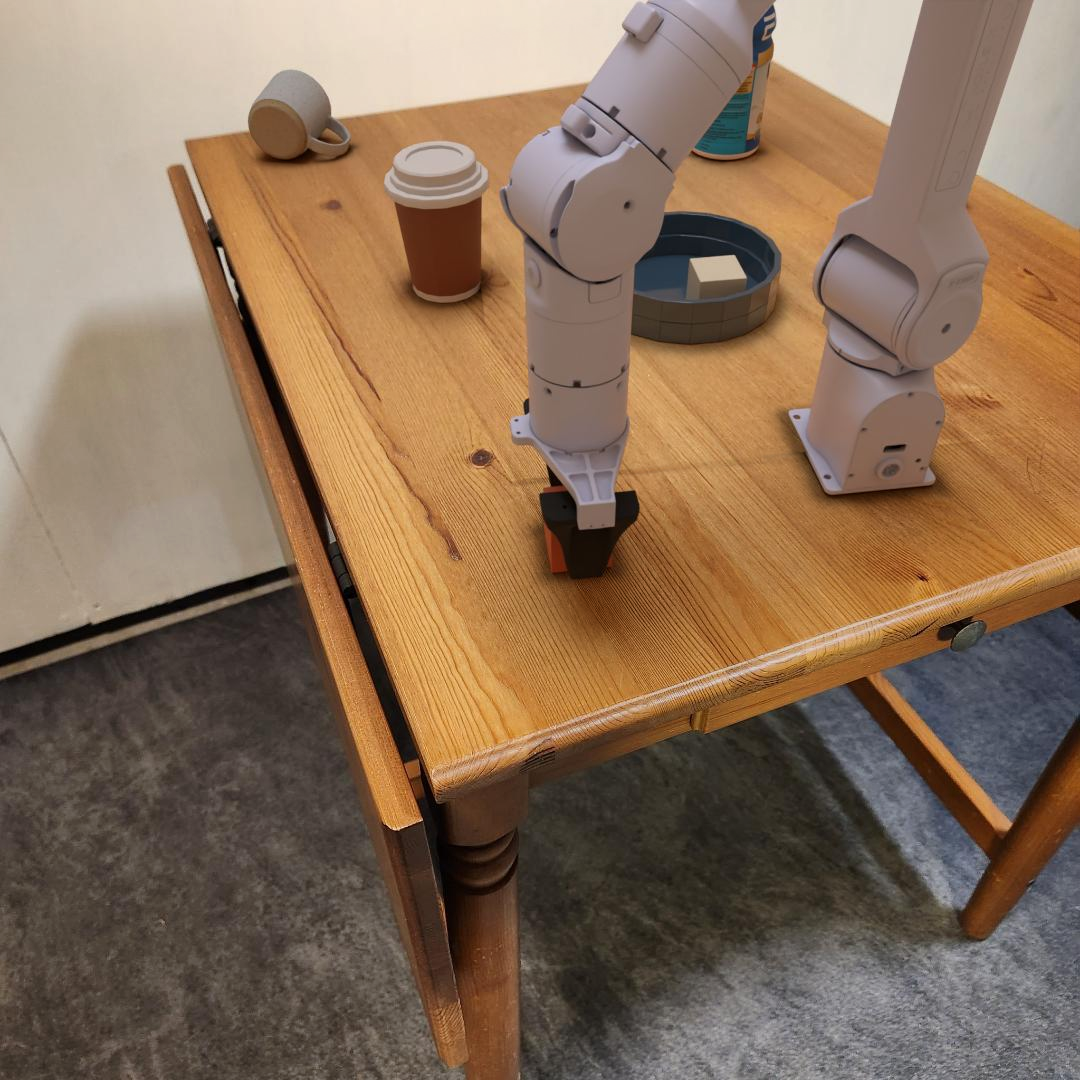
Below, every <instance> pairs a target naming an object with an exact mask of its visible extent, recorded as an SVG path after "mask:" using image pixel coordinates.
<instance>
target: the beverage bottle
mask: <svg viewBox="0 0 1080 1080" xmlns="http://www.w3.org/2000/svg"><path fill="white" fill-rule="evenodd" d="M776 27H777V12H776V8H775V5H774V4H773V5H772V6H771V7H770V8H769V9H768V11H767V12H766V13H765V14H764V15H763V16H762V18H761V19H760V20H759V21H758V22H757V23H756V25H755V26H754V28H753V39H752V42H753V64H752V70H751V73H750V74H749V76H748V77H747V78H746V79H745V81H744V82H743V83H742V85H741V86H740V87H739V89H738V90H737V91H736V93H735V94H734V95H733V97H732V98H731V99H730V101H729V102H728V103H727V105H726V106H725V107H724V109H723V110H722V111H721V113H720V114H719V115H718V116H717V118H716V119H715V120H714V122H713V123H712V124H711V126H710V127H709V128H708V130H707V131H706V132H705V134H704V135H703V136H702V138H701V139H700V140H699V141H698V143H697V144H696V145H695V147H694V148H693V149H692V151H691V152H694V153H695V154H697V155H699V156H701V157H703V158H707V159H712V160H719V161H729V160H738V159H743V158H746V157H749V156H751V155H752V154H754V153H755V152H756V151H757V150H758V148H759V146H760V143H761V128H762V122H763V115H764V109H765V102H766V95H767V88H768V82H769V75H770V67H771V63H772V61H773V58H774V52H775V44H774V39H773V36H772V35H773V32H774V30H776Z"/></svg>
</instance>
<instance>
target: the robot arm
mask: <svg viewBox="0 0 1080 1080" xmlns="http://www.w3.org/2000/svg"><path fill="white" fill-rule="evenodd" d="M776 1H777V0H647V1H645V2H642V1H639V0H638V1H636V3H634V5H633V6H632V8H631V9H630V10H629V12H628V13H627V15H626V16H625V18H624V20H623V21H622V23H621V28H622V29H623V30H624V31H625V32H624V33H623V35H622V36H621V37H620V39H619V40H618V42H617V43H616V45H615V46H614V47H613V49H612V51H611V52H610V54H609V55H608V56H607V58H606V59H605V60H604V62H603V63H602V65H601V66H600V68H599V69H598V70H597V72H596V73H595V75H594V76H593V77H592V79H591V80H590V82H589V83H588V85H587V86H586V88H585V89H584V90H583V92H582V93H581V95H580V97H578V98H577V100H576V102H575V103H574V104H573V103H571V104H569V106H568V107H567V108H566V110H565V112H564V113H563V114H562V115H561V117H560V119H559V125H555V126H552V127H549V128H547V129H546V131H544V132H542V133H538V134H536V135H535V136H533V138H532V139H530V140H529V141H528V142H527V143H526V144H525V145H524V146H523V147H522V149H521V150H520V151H519V153H518V154H517V156H516V158H515V159H514V162H513V164H512V167H511V169H510V173H509V176H508V179H509V182H508V184H507V185H504V186H502V187H501V188H499V192H498V193H499V194H498V195H499V200H500V205H501V208H502V211H503V212H504V214H505V216H506V218H507V219H508V220H509V222H510V223H511V224H512V225H513V226H514V227H515V228H516V229H517V230H518V231H519V232H520V234H521V236H522V237H521V238H522V240H523V241H522V243H523V246H522V247H523V266H524V267H523V270H524V273H523V274H524V306H525V331H526V332H525V333H526V335H525V336H526V359H527V382H528V385H527V386H528V398H526V399H525V400H524V401H523V403H522V404H523V405H522V407H523V413H524V414H523V415H517V416H513V417H512V418H511V419H510V420H509V428H510V429H509V430H510V431H509V432H510V436H511V442H512V443H513V444H514V445H516V446H520V447H522V446H529V447H532V448H533V449H534V450H535V451H536V452H537V454H538V456H540V457H541V459H542V460H543V461H544V463H545V466H546V467H545V468H546V471H547V476H548V480H549V484H550V487H555V486H565V487H566V489H567V490H568V491H558V492H547V493H543V492H539V494H538V499H539V505H540V510H541V516H542V520H543V523H544V522H545V524H546V526H547V528H548V529H549V530H550V531H551V532H552V533H553V534H554V535H555V536H556V538H557V539H558V541H559V543H560V545H561V548H562V552H563V556H564V561H565V565H566V568H567V571H566V572H567V574H568V577H569V578H570V579H571V580H572V581H574V580H575V581H576V580H585V579H595V578H601V577H603V576H604V574H605V572H606V570H607V568H608V567H607V565H608V562H609V559H610V557H611V554H612V555H613V552H614V549H615V547H616V545H617V543H618V541H619V539H620V538H621V537H622V535H623V534H624V533H625V532H626V531H627V530H628V529H629V528H630V527H631V526H632V525H633V524H635V523H636V522H637V520H638V518H639V514H640V511H641V509H640V508H641V506H640V502H639V498H638V495H637V491H636V490H634V489H633V490H624V491H623V490H622V491H615V490H616V485H617V480H618V477H619V473H620V470H621V466H622V463H623V458H624V455H625V451H626V448H627V444H628V440H629V438H630V430H631V429H630V428H631V420H630V416H629V414H628V400H629V382H630V381H629V379H630V365H631V364H630V363H631V343H632V338H631V337H632V334H631V324H632V305H633V289H634V270H635V264H636V263H637V262H638V261H639V260H640V259H641V257H642V256H643V255H644V254H645V253H646V252H648V251H649V250H650V249H651V248H652V247H653V246H654V244H655V242H656V240H657V238H658V236H659V233H660V230H661V227H662V223H663V219H664V212H665V210H666V203H667V201H668V198H669V197H670V194H671V193H672V192H673V190H674V189H675V186H674V183H675V182H676V180H677V176H676V175H675V173H676V172H677V171H678V169H679V168H680V167H681V166H682V164H683V162H685V160H686V159H687V157H688V156H689V155H690V154H691V152H693V151H692V149H693V148H694V147H695V145H696V144H697V143H698V141H699V140H700V139H701V138H702V136H703V135H704V134H705V132H706V131H707V130H708V128H709V127H710V126H711V124H712V123H713V122H714V120H715V119H716V118H717V116H718V115H719V114H720V113H721V111H722V110H723V109H724V107H725V106H726V105H727V103H728V102H729V101H730V99H731V98H732V97H733V95H734V94H735V93H736V91H737V90H738V89H739V87H740V86H741V85H742V83H743V82H744V81H745V79H746V78H747V77H748V76H749V74H750V73H751V70H752V64H753V42H752V39H753V28H754V26H755V25H756V23H757V22H758V21H759V20H760V19H761V18H762V16H763V15H764V14H765V13H766V12H767V11H768V9H769V8H770V7H771V6H772V5H774V4H775V2H776ZM1034 1H1035V0H922V2H921V7H920V10H919V14H918V19H917V21H916V25H915V30H914V34H913V37H912V41H911V44H910V49H909V52H908V56H907V60H906V65H905V67H904V71H903V76H902V78H901V79H902V80H901V83H900V88H899V91H898V94H897V99H896V102H895V107H894V111H893V114H892V119H891V123H890V126H889V130H888V134H887V138H886V141H885V146H884V149H883V152H882V157H881V160H880V164H879V168H878V173H877V176H876V179H875V184H874V187H873V191H872V194H871V195H868V196H866V197H863V198H861V199H859V200H856V201H855V202H853V203H851V204H850V205H847V206H846V207H845V208H843V209H841V210H840V211H839V212H838V215H837V219H836V224H835V227H834V231H833V233H832V235H831V238H830V240H829V242H828V244H827V245H826V247H825V249H824V250H823V251H822V254H821V255H820V257H819V259H818V261H817V263H816V265H815V269H814V271H813V276H812V285H811V286H812V293H813V297H814V298H815V300H816V302H817V303H818V304H819V305H820V306H822V307H823V308H824V311H823V315H822V321H821V324H822V325H823V326H824V327H825V328H826V330H827V332H826V333H827V334H826V337H825V342H824V346H823V350H822V355H821V359H820V363H819V369H818V374H817V379H816V382H815V387H814V390H813V391H814V392H813V396H812V401H811V405H810V407H807V408H796V409H794V408H793V409H790V410H789V411H788V412H787V414H788V416H789V418H790V420H791V422H792V424H793V426H794V428H795V430H796V432H797V435H798V436H799V439H800V440H801V443H802V444H803V446H804V449H805V450H806V451H804V453H805V455H806V456H807V459H808V461H809V463H810V465H811V467H812V469H813V471H814V473H815V475H816V477H817V479H818V481H819V483H820V485H821V486H822V489H823V491H824V492H825V493H826V494H827V495H830V496H834V495H835V496H836V495H844V494H854V493H855V494H856V493H863V492H875V491H884V490H885V491H886V490H894V489H896V490H897V489H905V488H917V487H925V486H931V485H934V484H935V482H936V479H937V478H936V476H935V474H934V472H933V471H932V469H931V468H930V464H931V460H932V458H933V454H934V451H935V450H936V446H937V443H938V440H939V438H940V435H941V432H942V430H943V426H944V423H945V420H946V407H945V404H944V401H943V398H942V397H941V394H940V393H939V390H938V388H937V384H936V380H935V366H936V365H939V364H941V363H943V362H944V361H946V360H948V359H950V358H951V357H952V356H953V355H954V354H956V353H957V352H958V351H959V350H960V349H961V348H962V347H963V346H964V345H965V344H966V342H967V341H968V340H969V338H970V337H971V336H972V334H973V332H974V331H975V329H976V326H977V325H978V322H979V320H980V316H981V313H982V307H983V301H984V294H983V282H984V277H985V274H986V271H987V268H988V265H989V263H990V260H991V256H990V253H989V251H988V248H987V246H986V244H985V243H984V241H983V239H982V237H981V235H980V234H979V232H978V229H977V228H976V226H975V223H974V222H973V220H972V217H971V216H970V214H969V212H968V210H967V209H968V208H967V202H968V199H969V196H970V193H971V190H972V187H973V185H974V181H975V178H976V176H977V173H978V169H979V167H980V163H981V160H982V157H983V154H984V152H985V148H986V146H987V142H988V139H989V136H990V134H991V130H992V127H993V124H994V122H995V119H996V115H997V113H998V109H999V107H1000V103H1001V100H1002V97H1003V94H1004V91H1005V88H1006V85H1007V82H1008V79H1009V76H1010V74H1011V70H1012V67H1013V64H1014V61H1015V58H1016V55H1017V52H1018V49H1019V46H1020V44H1021V41H1022V37H1023V35H1024V31H1025V29H1026V25H1027V22H1028V20H1029V16H1030V13H1031V10H1032V7H1033V4H1034ZM796 416H797V417H799V418H795V417H796Z"/></svg>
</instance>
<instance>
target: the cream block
mask: <svg viewBox="0 0 1080 1080" xmlns="http://www.w3.org/2000/svg"><path fill="white" fill-rule="evenodd" d="M746 282H747V277H746V275H745V273H744V271H743V270H742V268H741V266H740V264H739V262H738V260H737V258H736V257H735V255H728V256H716V257H704V258H691V259H690V261H689V271H688V281H687V292H686V299H689V300H697V299H709V298H721V297H725V296H729V295H733V294H736V293H740V292H743V291H745V289H746Z"/></svg>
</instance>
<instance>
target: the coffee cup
mask: <svg viewBox="0 0 1080 1080" xmlns="http://www.w3.org/2000/svg"><path fill="white" fill-rule="evenodd" d="M489 188H490V175H489V170H488V169H487V168H486V167H485V165H483V163H481V162H479V161H477V158H476V153H475V152H474V151H473V150H472V149H471V148H470V147H469V146H467V145H465V144H462V143H458V142H455V141H446V140H436V141H435V140H434V141H433V140H432V141H425V142H419V143H414V144H412V145H410V146H407V147H405V148H402V149H401V150H400V151H399V152H397V154H396V155H395V156H394V157H393V162H392V167H391V169H390V170H389V171H388V172H387V173H386V174H385V175H384V181H383V191H384V193H385V195H386V196H387V197H388V198H389V200H390V201H392V202H393V203H394V206H395V207H394V208H395V211H396V216H397V220H398V225H399V229H400V233H401V238H402V243H403V248H404V251H405V252H404V253H405V256H406V260H407V265H408V269H409V274H410V279H411V282H412V283H411V284H412V289H413V291H414V292H415V294H416V295H417V297H418V298H419V297H420V298H421V299H422V300H425V301H428V302H432V303H433V302H434V303H439V304H441V303H456V302H459V301H463V300H467V299H468V298H471V297H472V296H474V295H475V294H477V293H478V292H479V290H480V289H481V288H482V287H481V282H482V225H483V223H482V215H483V211H482V210H483V195H484V194H485V193H486V192H487V190H489Z"/></svg>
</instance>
